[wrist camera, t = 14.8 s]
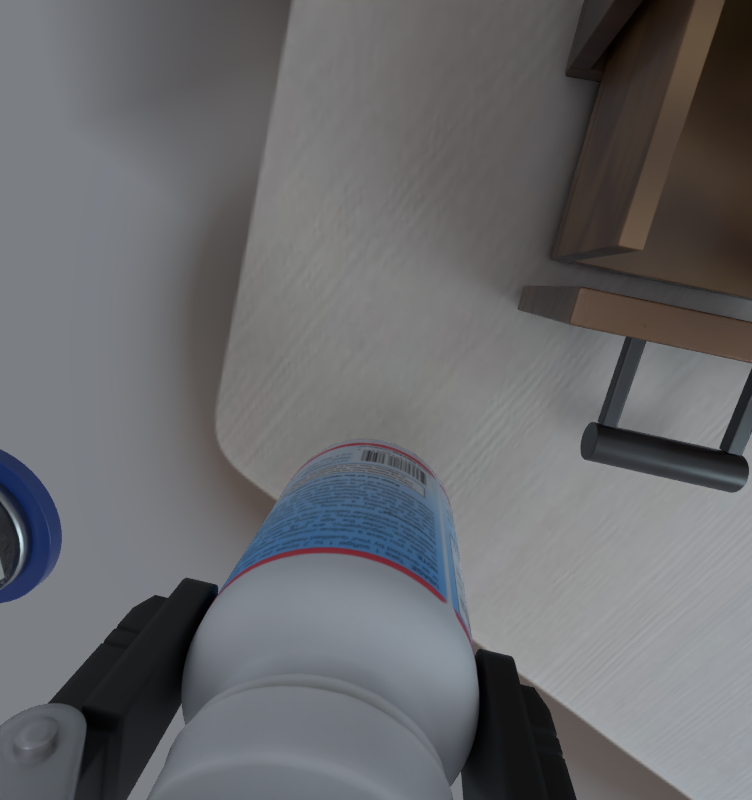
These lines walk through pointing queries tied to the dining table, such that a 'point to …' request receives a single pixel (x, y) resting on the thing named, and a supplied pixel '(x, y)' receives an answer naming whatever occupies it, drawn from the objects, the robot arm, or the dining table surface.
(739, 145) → the drawer
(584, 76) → the cabinet
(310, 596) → the pill bottle
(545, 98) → the dining table surface
